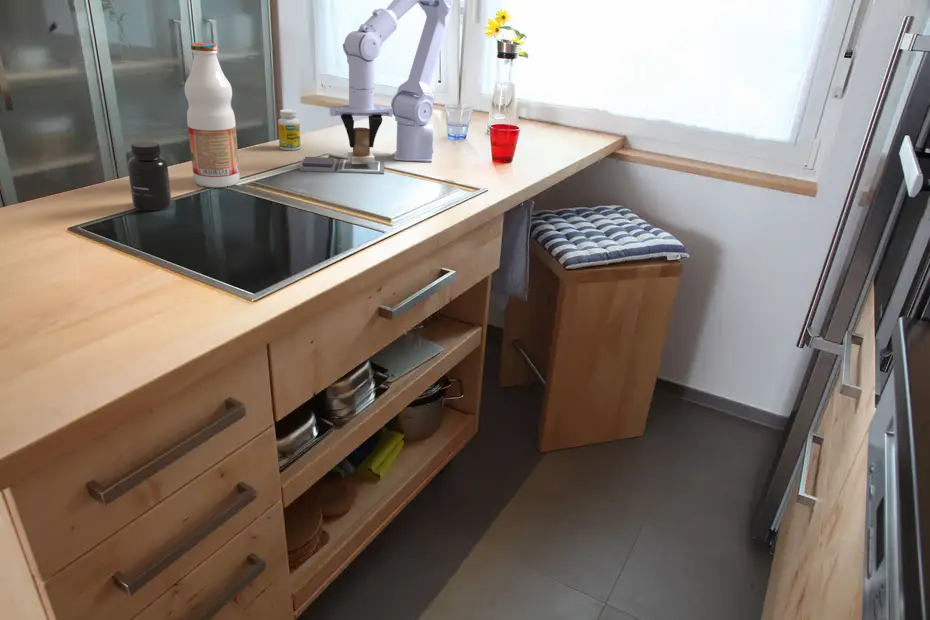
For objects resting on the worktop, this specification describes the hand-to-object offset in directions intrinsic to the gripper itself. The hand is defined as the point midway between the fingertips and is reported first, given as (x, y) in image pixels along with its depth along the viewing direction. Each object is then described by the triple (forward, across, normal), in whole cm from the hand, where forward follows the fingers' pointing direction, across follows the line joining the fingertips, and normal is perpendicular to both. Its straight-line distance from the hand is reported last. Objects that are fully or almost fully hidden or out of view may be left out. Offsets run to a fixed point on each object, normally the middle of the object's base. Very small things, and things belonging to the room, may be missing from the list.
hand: (361, 146), depth 164 cm
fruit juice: (+5, +33, +10) cm, 35 cm away
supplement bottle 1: (+5, +45, +25) cm, 52 cm away
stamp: (+3, 0, 0) cm, 3 cm away
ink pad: (+5, +10, 0) cm, 11 cm away
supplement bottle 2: (+5, +15, -19) cm, 25 cm away
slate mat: (+5, 0, 0) cm, 5 cm away
